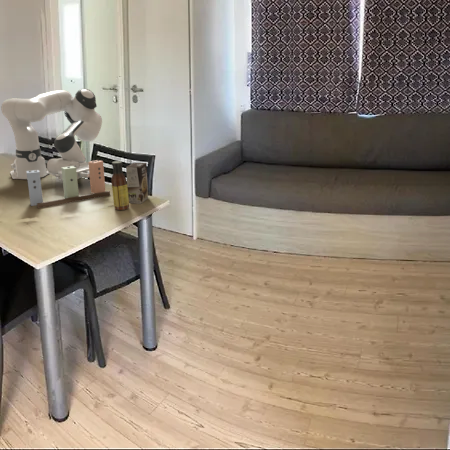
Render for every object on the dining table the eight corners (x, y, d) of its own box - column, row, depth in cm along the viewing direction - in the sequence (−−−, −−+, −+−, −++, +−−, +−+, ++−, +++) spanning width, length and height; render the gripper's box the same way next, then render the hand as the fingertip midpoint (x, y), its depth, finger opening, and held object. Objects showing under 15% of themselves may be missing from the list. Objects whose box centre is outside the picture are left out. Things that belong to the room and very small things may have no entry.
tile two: (30, 203, 233) (26, 170, 229) (42, 202, 235) (38, 169, 230) (30, 206, 230) (26, 172, 225) (43, 204, 231) (39, 171, 227)
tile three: (90, 192, 249) (88, 161, 245) (99, 189, 253) (97, 159, 248) (96, 193, 247) (94, 162, 242) (105, 191, 250) (103, 160, 246)
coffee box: (141, 204, 236) (139, 167, 230) (127, 203, 237) (125, 166, 232) (148, 198, 244) (147, 162, 239) (135, 197, 245) (133, 161, 240)
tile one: (64, 199, 239) (61, 166, 235) (75, 197, 242) (72, 165, 237) (68, 201, 236) (64, 168, 231) (79, 199, 239) (76, 167, 234)
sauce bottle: (131, 206, 233) (128, 160, 226) (127, 211, 227) (124, 163, 220) (115, 206, 233) (112, 160, 227) (111, 210, 227) (108, 163, 221)
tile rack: (24, 203, 237) (24, 197, 236) (101, 190, 256) (100, 184, 255) (35, 211, 226) (34, 204, 225) (113, 197, 245) (113, 191, 244)
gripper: (51, 168, 251) (70, 172, 243) (88, 160, 266) (106, 164, 258) (53, 181, 253) (71, 186, 245) (89, 173, 268) (107, 177, 260)
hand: (90, 175), depth 251 cm, fingers closed
